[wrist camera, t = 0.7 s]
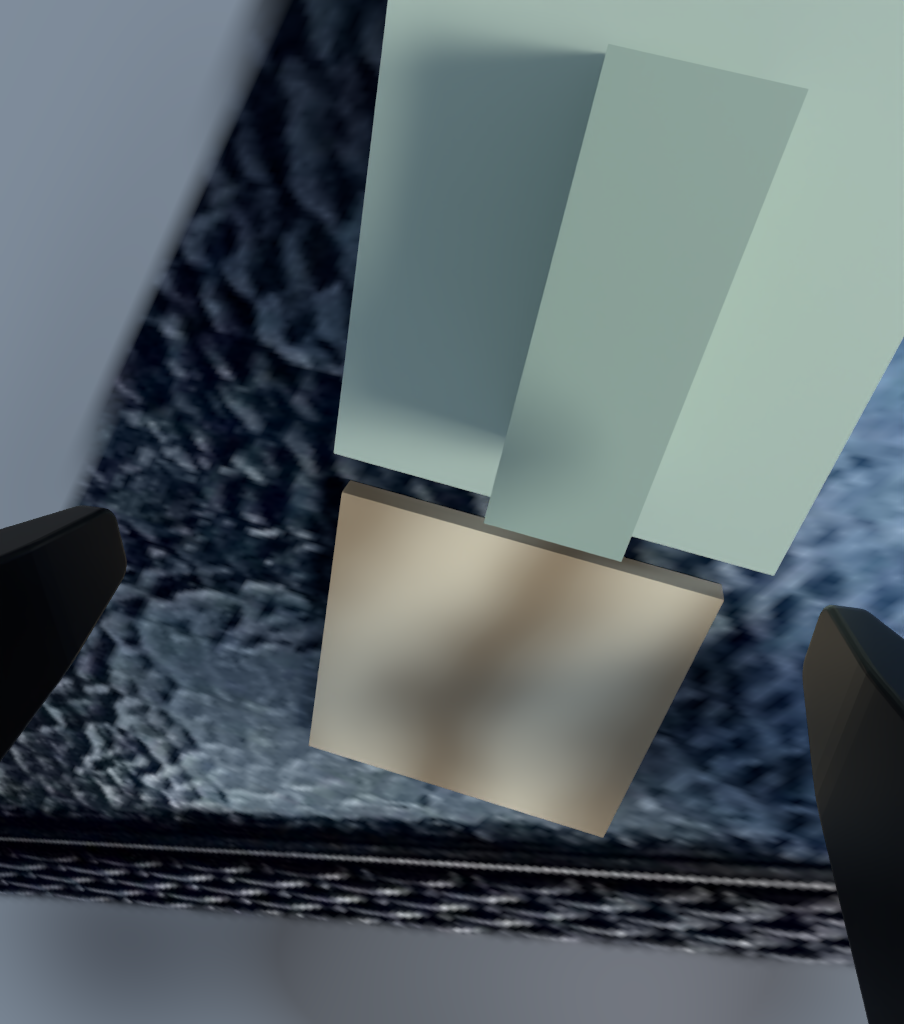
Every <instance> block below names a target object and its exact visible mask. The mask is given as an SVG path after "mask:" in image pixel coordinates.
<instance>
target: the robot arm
mask: <svg viewBox="0 0 904 1024" xmlns="http://www.w3.org/2000/svg"><path fill="white" fill-rule="evenodd" d="M126 567H127V560H126V555H125V551H124V547H123V543H122V539H121V536H120V532H119V528H118V524H117V520H116V517H115V516H114V514H113V513H112V512H111V511H110V510H108V509H106V508H99V507H91V506H84V505H83V506H76V507H72V508H69V509H66V510H63V511H59V512H56V513H53V514H50V515H46V516H43V517H39V518H36V519H33V520H29V521H26V522H23V523H20V524H16V525H13V526H9V527H6V528H3V529H0V761H1V760H2V758H3V757H4V756H5V754H6V753H7V752H8V750H9V749H10V748H11V746H12V745H13V744H14V742H15V741H16V740H17V738H18V737H19V736H20V734H21V733H22V732H23V730H24V729H25V727H26V726H27V725H28V723H29V722H30V721H31V719H32V718H33V717H34V715H35V714H36V713H37V711H38V710H39V709H40V707H41V706H42V705H43V703H44V702H45V701H46V699H47V698H48V696H49V695H50V694H51V692H52V691H53V690H54V688H55V687H56V686H57V684H58V683H59V682H60V680H61V679H62V677H63V676H64V675H65V673H66V672H67V670H68V669H69V667H70V666H71V664H72V663H73V661H74V660H75V658H76V656H77V655H78V653H79V652H80V650H81V648H82V647H83V645H84V643H85V642H86V640H87V638H88V637H89V635H90V633H91V632H92V630H93V628H94V626H95V625H96V623H97V621H98V620H99V618H100V616H101V615H102V613H103V611H104V610H105V608H106V606H107V605H108V603H109V601H110V600H111V598H112V596H113V595H114V593H115V591H116V590H117V588H118V586H119V585H120V583H121V581H122V580H123V578H124V575H125V572H126ZM803 688H804V697H805V707H806V716H807V725H808V735H809V744H810V753H811V763H812V772H813V781H814V788H815V796H816V802H817V807H818V812H819V816H820V821H821V825H822V830H823V834H824V838H825V842H826V846H827V851H828V855H829V859H830V863H831V867H832V872H833V876H834V880H835V884H836V889H837V893H838V897H839V901H840V905H841V910H842V914H843V918H844V922H845V927H846V931H847V935H848V939H849V943H850V948H851V952H852V956H853V960H854V964H855V969H856V973H857V977H858V981H859V985H860V990H861V994H862V998H863V1002H864V1006H865V1011H866V1015H867V1019H868V1023H869V1024H904V639H903V638H902V637H901V636H899V635H898V634H897V633H895V632H894V631H893V630H891V629H890V628H889V627H888V626H886V625H885V624H884V623H882V622H881V621H880V620H879V619H877V618H876V617H875V616H873V615H872V614H871V613H869V612H868V611H866V610H864V609H860V608H852V607H844V606H836V605H829V606H827V607H825V608H824V609H823V610H822V612H821V614H820V616H819V619H818V622H817V624H816V627H815V630H814V633H813V636H812V639H811V642H810V645H809V648H808V651H807V654H806V657H805V660H804V665H803Z"/></svg>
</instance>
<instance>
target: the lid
mask: <svg viewBox="0 0 904 1024" xmlns="http://www.w3.org/2000/svg"><path fill="white" fill-rule="evenodd" d="M903 337H904V0H388V4H387V12H386V21H385V29H384V37H383V46H382V54H381V62H380V71H379V79H378V87H377V96H376V104H375V113H374V121H373V129H372V138H371V146H370V154H369V163H368V171H367V179H366V188H365V196H364V205H363V213H362V221H361V230H360V238H359V246H358V255H357V263H356V271H355V280H354V288H353V297H352V305H351V313H350V322H349V330H348V338H347V347H346V355H345V363H344V372H343V380H342V389H341V397H340V405H339V414H338V422H337V430H336V439H335V447H334V453H335V454H338V455H342V456H346V457H349V458H353V459H356V460H360V461H363V462H367V463H371V464H374V465H378V466H381V467H385V468H389V469H392V470H396V471H399V472H403V473H407V474H410V475H414V476H417V477H421V478H425V479H428V480H432V481H435V482H439V483H442V484H446V485H450V486H453V487H457V488H460V489H464V490H468V491H471V492H475V493H478V494H482V495H486V496H489V497H490V500H489V504H488V508H487V512H486V516H485V520H484V523H485V524H488V525H492V526H495V527H499V528H503V529H506V530H510V531H513V532H517V533H520V534H524V535H527V536H531V537H534V538H538V539H542V540H545V541H549V542H552V543H556V544H559V545H563V546H566V547H570V548H574V549H577V550H581V551H584V552H588V553H591V554H595V555H598V556H602V557H605V558H609V559H613V560H616V561H620V562H621V561H622V559H623V556H624V554H625V551H626V549H627V546H628V544H629V541H630V539H631V536H633V537H636V538H640V539H644V540H647V541H651V542H654V543H658V544H661V545H665V546H669V547H672V548H676V549H679V550H683V551H687V552H690V553H694V554H697V555H701V556H705V557H708V558H712V559H715V560H719V561H723V562H726V563H730V564H733V565H737V566H740V567H744V568H748V569H751V570H755V571H758V572H762V573H766V574H769V575H773V576H774V574H775V573H776V571H777V569H778V567H779V565H780V563H781V562H782V560H783V558H784V556H785V554H786V552H787V551H788V549H789V547H790V545H791V543H792V541H793V539H794V538H795V536H796V534H797V532H798V530H799V528H800V527H801V525H802V523H803V521H804V519H805V517H806V516H807V514H808V512H809V510H810V508H811V506H812V505H813V503H814V501H815V499H816V497H817V495H818V494H819V492H820V490H821V488H822V486H823V484H824V482H825V481H826V479H827V477H828V475H829V473H830V471H831V470H832V468H833V466H834V464H835V462H836V460H837V459H838V457H839V455H840V453H841V451H842V449H843V448H844V446H845V444H846V442H847V440H848V438H849V437H850V435H851V433H852V431H853V429H854V427H855V425H856V424H857V422H858V420H859V418H860V416H861V414H862V413H863V411H864V409H865V407H866V405H867V403H868V402H869V400H870V398H871V396H872V394H873V392H874V391H875V389H876V387H877V385H878V383H879V381H880V380H881V378H882V376H883V374H884V372H885V370H886V368H887V367H888V365H889V363H890V361H891V359H892V357H893V356H894V354H895V352H896V350H897V348H898V346H899V345H900V343H901V341H902V339H903Z"/></svg>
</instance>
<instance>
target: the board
mask: <svg viewBox="0 0 904 1024" xmlns="http://www.w3.org/2000/svg"><path fill="white" fill-rule="evenodd" d="M484 520H485V518H483V517H479V516H475V515H472V514H468V513H465V512H461V511H458V510H454V509H450V508H447V507H443V506H440V505H436V504H433V503H429V502H426V501H422V500H418V499H415V498H411V497H408V496H404V495H401V494H397V493H394V492H390V491H386V490H383V489H379V488H376V487H372V486H369V485H365V484H362V483H358V482H354V481H351V480H350V481H349V483H348V484H347V486H346V487H345V488H344V490H343V491H342V495H341V503H340V511H339V518H338V526H337V533H336V541H335V549H334V556H333V564H332V572H331V579H330V587H329V595H328V602H327V610H326V618H325V625H324V633H323V641H322V648H321V656H320V664H319V671H318V679H317V687H316V694H315V702H314V710H313V717H312V725H311V733H310V740H309V746H311V747H314V748H318V749H321V750H324V751H327V752H330V753H334V754H337V755H340V756H343V757H346V758H350V759H353V760H356V761H359V762H362V763H366V764H369V765H372V766H375V767H379V768H382V769H385V770H388V771H391V772H395V773H398V774H401V775H404V776H407V777H411V778H414V779H417V780H420V781H423V782H427V783H430V784H433V785H436V786H439V787H443V788H446V789H449V790H452V791H455V792H459V793H462V794H465V795H468V796H471V797H475V798H478V799H481V800H484V801H487V802H491V803H494V804H497V805H500V806H504V807H507V808H510V809H513V810H516V811H520V812H523V813H526V814H529V815H532V816H536V817H539V818H542V819H545V820H548V821H552V822H555V823H558V824H561V825H564V826H568V827H571V828H574V829H577V830H580V831H584V832H587V833H590V834H593V835H596V836H600V837H604V835H605V833H606V831H607V829H608V827H609V825H610V823H611V821H612V819H613V817H614V815H615V813H616V811H617V809H618V807H619V805H620V803H621V802H622V800H623V798H624V796H625V794H626V792H627V790H628V788H629V786H630V784H631V782H632V780H633V778H634V776H635V774H636V772H637V770H638V768H639V766H640V764H641V762H642V760H643V758H644V756H645V754H646V752H647V750H648V748H649V746H650V745H651V743H652V741H653V739H654V737H655V735H656V733H657V731H658V729H659V727H660V725H661V723H662V721H663V719H664V717H665V715H666V713H667V711H668V709H669V707H670V705H671V703H672V701H673V699H674V697H675V695H676V693H677V691H678V690H679V688H680V686H681V684H682V682H683V680H684V678H685V676H686V674H687V672H688V670H689V668H690V666H691V664H692V662H693V660H694V658H695V656H696V654H697V652H698V650H699V648H700V646H701V644H702V642H703V640H704V638H705V636H706V634H707V633H708V631H709V629H710V627H711V625H712V623H713V621H714V619H715V617H716V615H717V613H718V611H719V609H720V607H721V605H722V603H723V601H724V597H723V592H722V586H721V584H717V583H714V582H710V581H707V580H703V579H700V578H696V577H692V576H689V575H685V574H682V573H678V572H675V571H671V570H668V569H664V568H660V567H657V566H653V565H650V564H646V563H643V562H639V561H636V560H632V559H628V558H625V557H623V559H622V561H621V562H620V561H616V560H613V559H609V558H605V557H602V556H598V555H595V554H591V553H588V552H584V551H581V550H577V549H574V548H570V547H566V546H563V545H559V544H556V543H552V542H549V541H545V540H542V539H538V538H534V537H531V536H527V535H524V534H520V533H517V532H513V531H510V530H506V529H503V528H499V527H495V526H492V525H488V524H485V523H484Z"/></svg>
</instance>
